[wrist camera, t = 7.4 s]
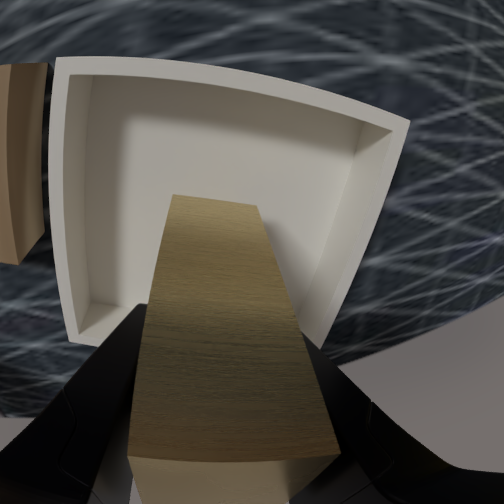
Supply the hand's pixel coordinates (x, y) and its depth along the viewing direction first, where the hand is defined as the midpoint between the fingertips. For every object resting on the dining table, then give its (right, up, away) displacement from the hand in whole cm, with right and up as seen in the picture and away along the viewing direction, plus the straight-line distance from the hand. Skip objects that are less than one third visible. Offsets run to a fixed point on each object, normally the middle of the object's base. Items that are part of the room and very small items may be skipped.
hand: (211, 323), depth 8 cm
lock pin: (-1, +2, +4) cm, 5 cm away
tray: (-1, +4, +6) cm, 7 cm away
